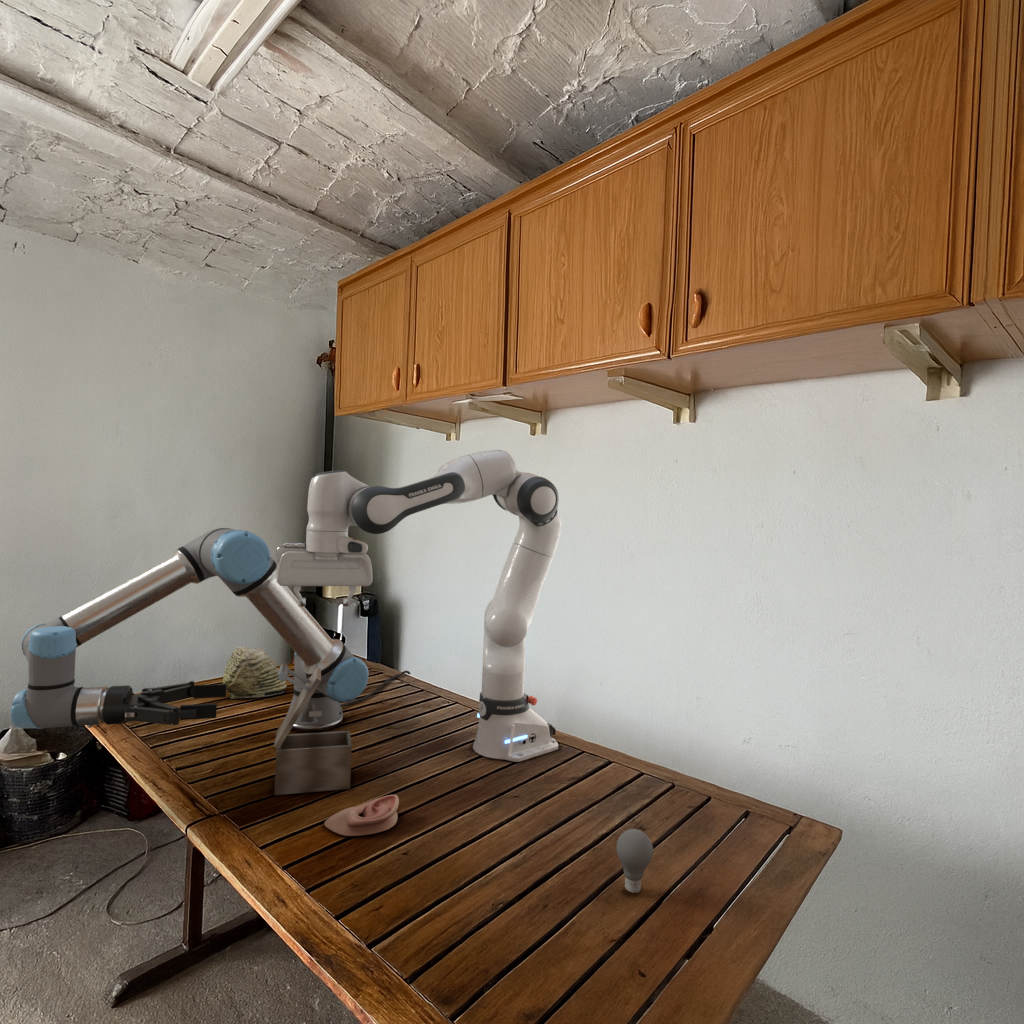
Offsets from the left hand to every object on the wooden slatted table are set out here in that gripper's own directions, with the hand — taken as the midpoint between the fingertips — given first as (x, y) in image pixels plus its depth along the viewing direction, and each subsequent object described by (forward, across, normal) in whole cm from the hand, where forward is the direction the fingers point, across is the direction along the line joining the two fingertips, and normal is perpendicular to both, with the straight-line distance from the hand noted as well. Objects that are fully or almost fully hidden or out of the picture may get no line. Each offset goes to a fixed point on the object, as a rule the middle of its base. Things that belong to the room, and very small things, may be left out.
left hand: (221, 700), depth 134 cm
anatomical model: (+29, +20, -19) cm, 40 cm away
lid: (+16, 0, -3) cm, 16 cm away
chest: (+19, 0, -19) cm, 27 cm away
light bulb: (+71, +52, -19) cm, 90 cm away
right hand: (+20, 0, +20) cm, 28 cm away
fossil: (+1, -66, -19) cm, 69 cm away
